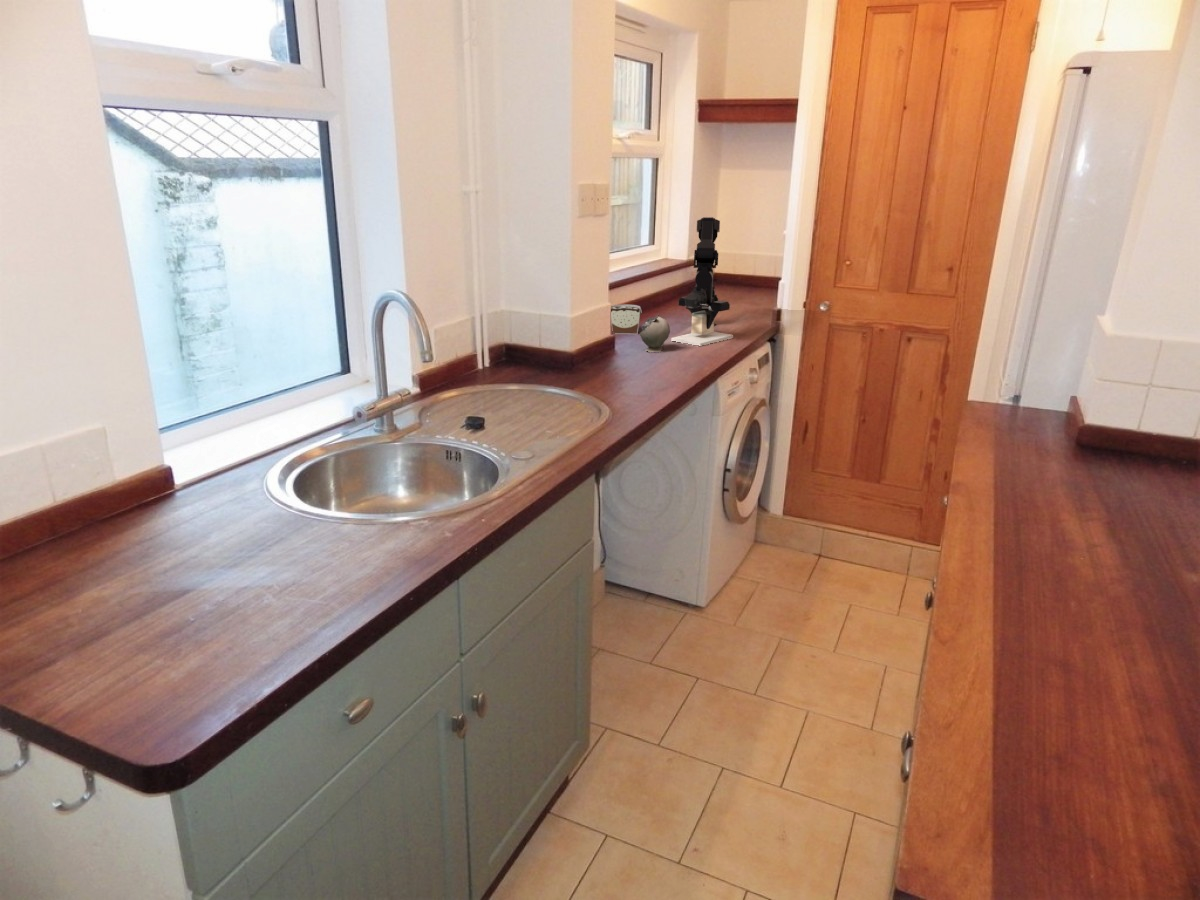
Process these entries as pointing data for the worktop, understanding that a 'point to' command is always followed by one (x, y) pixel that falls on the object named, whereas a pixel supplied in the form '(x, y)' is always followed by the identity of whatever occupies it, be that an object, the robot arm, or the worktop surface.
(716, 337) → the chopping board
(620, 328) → the food container
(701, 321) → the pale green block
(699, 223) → the robot arm
